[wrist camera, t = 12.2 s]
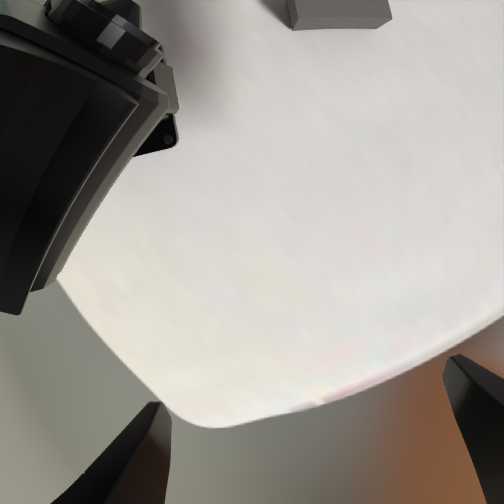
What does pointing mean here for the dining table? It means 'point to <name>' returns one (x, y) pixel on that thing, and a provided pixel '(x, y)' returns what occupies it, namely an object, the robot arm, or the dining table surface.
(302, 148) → the dining table surface
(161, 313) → the dining table surface
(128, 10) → the robot arm
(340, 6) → the pair of grey blocks
